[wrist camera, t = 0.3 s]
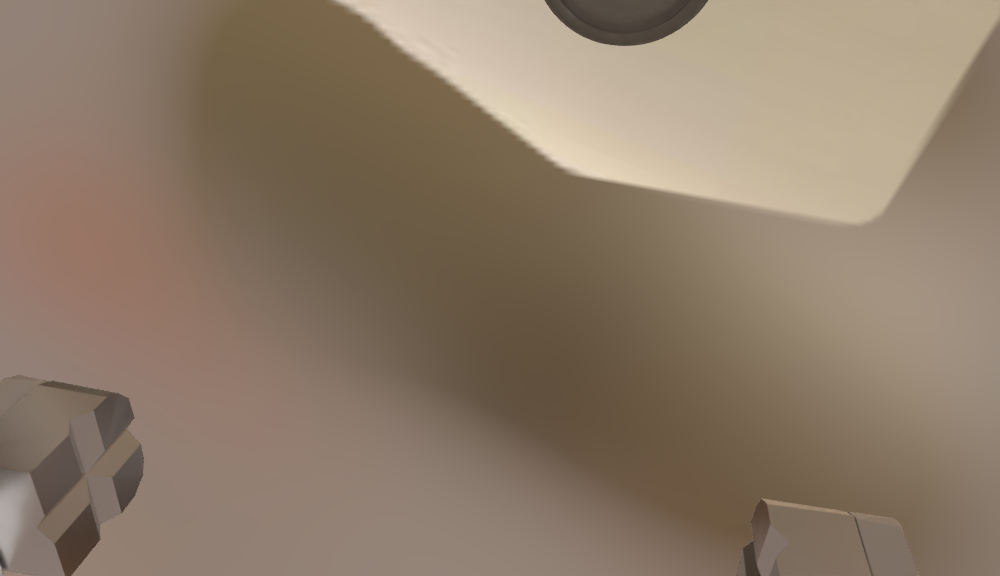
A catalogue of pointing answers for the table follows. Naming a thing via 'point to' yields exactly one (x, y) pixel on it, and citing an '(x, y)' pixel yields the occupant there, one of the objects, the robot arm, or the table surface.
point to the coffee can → (625, 18)
